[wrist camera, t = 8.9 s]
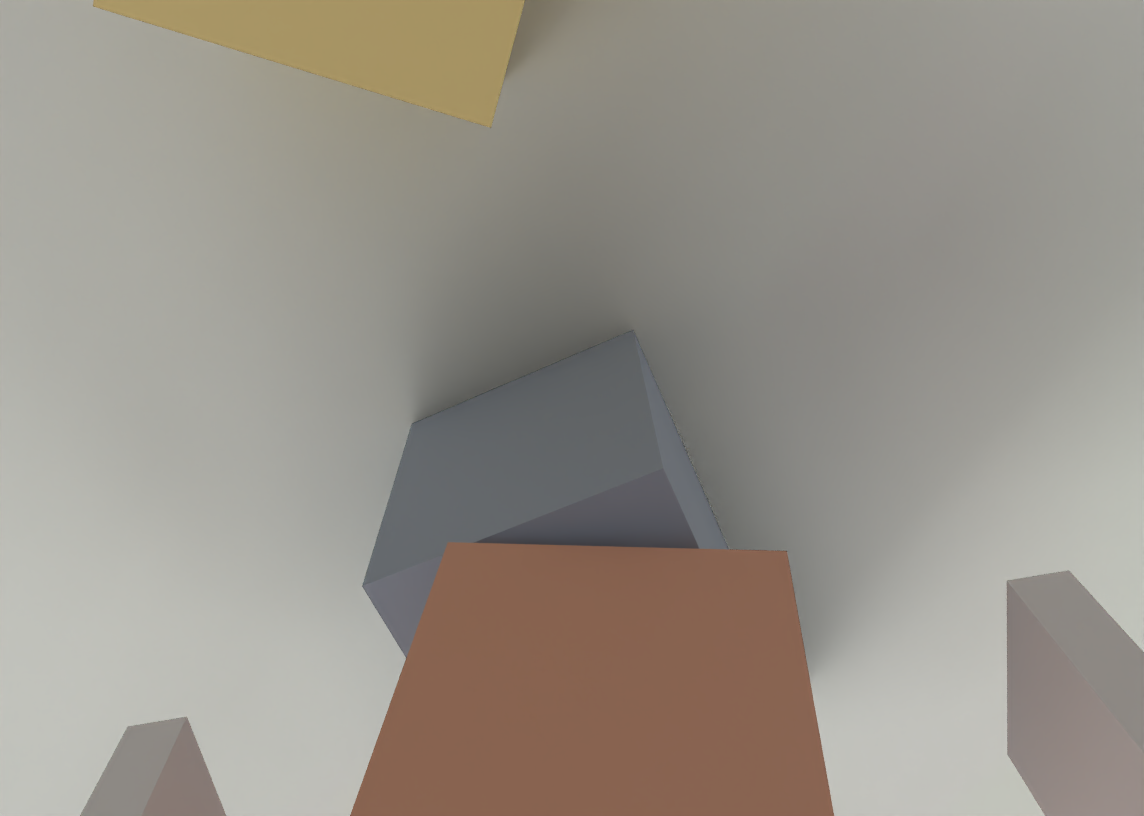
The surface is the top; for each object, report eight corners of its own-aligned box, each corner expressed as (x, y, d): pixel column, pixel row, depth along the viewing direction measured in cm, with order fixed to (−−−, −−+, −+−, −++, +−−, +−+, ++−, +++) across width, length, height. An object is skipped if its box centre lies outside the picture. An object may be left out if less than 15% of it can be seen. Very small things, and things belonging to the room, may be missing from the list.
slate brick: (413, 419, 17) (362, 586, 13) (632, 329, 17) (663, 467, 12) (598, 758, 20) (612, 992, 16) (790, 691, 20) (862, 912, 15)
